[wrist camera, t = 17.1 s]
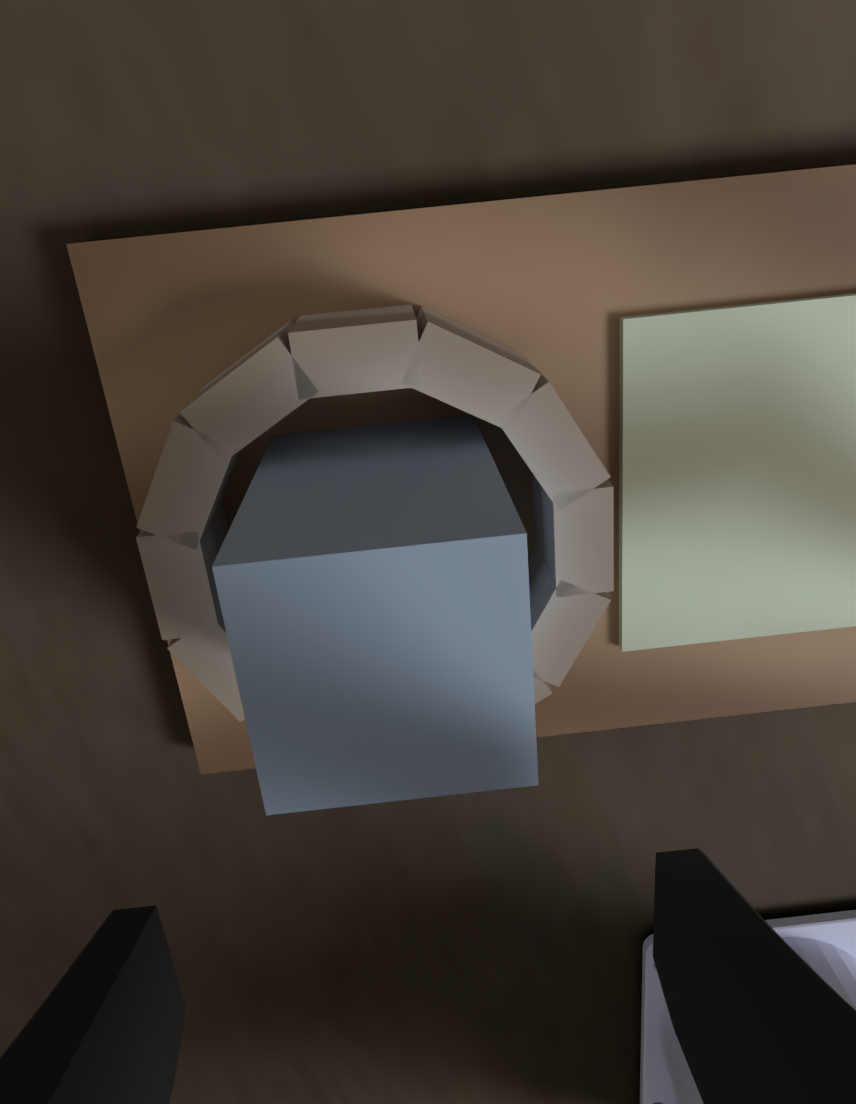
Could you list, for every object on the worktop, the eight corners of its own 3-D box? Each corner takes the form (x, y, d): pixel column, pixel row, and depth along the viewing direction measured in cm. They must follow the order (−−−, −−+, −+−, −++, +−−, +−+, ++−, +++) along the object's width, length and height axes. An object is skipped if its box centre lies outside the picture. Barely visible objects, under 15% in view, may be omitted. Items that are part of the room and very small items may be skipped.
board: (931, 670, 22) (1024, 749, 19) (208, 750, 22) (179, 843, 19) (1026, 146, 17) (1177, 132, 14) (83, 241, 17) (13, 250, 14)
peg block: (485, 593, 19) (538, 785, 13) (303, 613, 19) (265, 815, 13) (472, 414, 18) (526, 533, 11) (272, 435, 18) (211, 567, 11)
